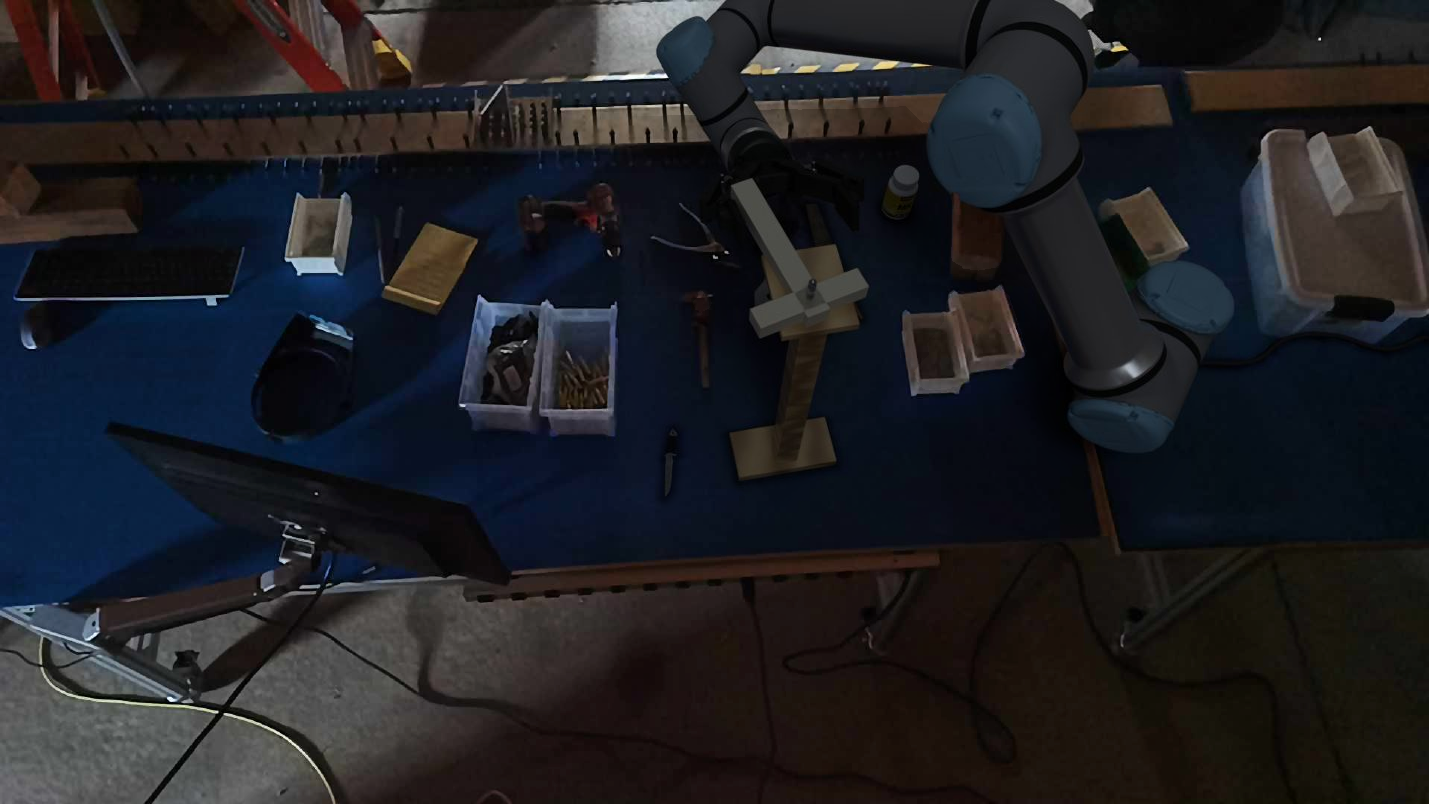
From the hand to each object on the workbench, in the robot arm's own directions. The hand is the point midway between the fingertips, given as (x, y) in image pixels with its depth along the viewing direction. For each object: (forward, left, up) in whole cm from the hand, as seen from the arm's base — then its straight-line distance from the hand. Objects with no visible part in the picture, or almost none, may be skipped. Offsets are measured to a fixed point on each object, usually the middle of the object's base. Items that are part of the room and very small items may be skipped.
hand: (799, 227), depth 88 cm
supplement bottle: (-28, -32, -43) cm, 61 cm away
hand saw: (-15, -23, -43) cm, 51 cm away
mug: (-6, -14, -43) cm, 46 cm away
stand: (0, +6, -43) cm, 43 cm away
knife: (+16, +6, -43) cm, 46 cm away
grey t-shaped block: (+2, +1, -3) cm, 4 cm away
